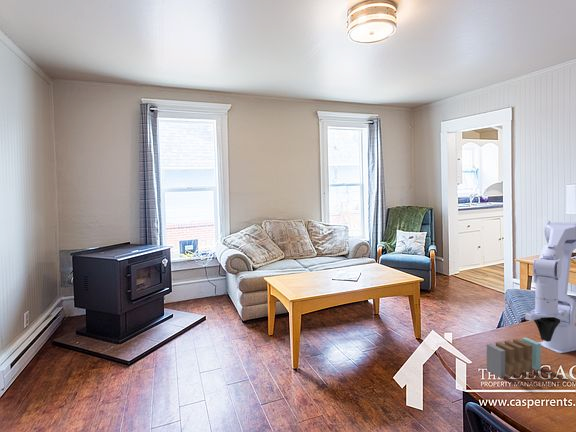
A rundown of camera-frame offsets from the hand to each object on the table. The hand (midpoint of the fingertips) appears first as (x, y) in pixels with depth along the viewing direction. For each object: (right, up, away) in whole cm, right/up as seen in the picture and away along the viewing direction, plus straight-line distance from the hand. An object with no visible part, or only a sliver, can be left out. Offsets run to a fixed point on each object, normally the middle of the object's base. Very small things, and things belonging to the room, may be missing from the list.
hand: (545, 340), depth 108 cm
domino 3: (-9, -8, -2) cm, 12 cm away
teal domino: (-5, -8, -1) cm, 9 cm away
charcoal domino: (-19, -8, -5) cm, 21 cm away
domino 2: (-12, -8, -3) cm, 15 cm away
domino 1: (-15, -8, -4) cm, 18 cm away
